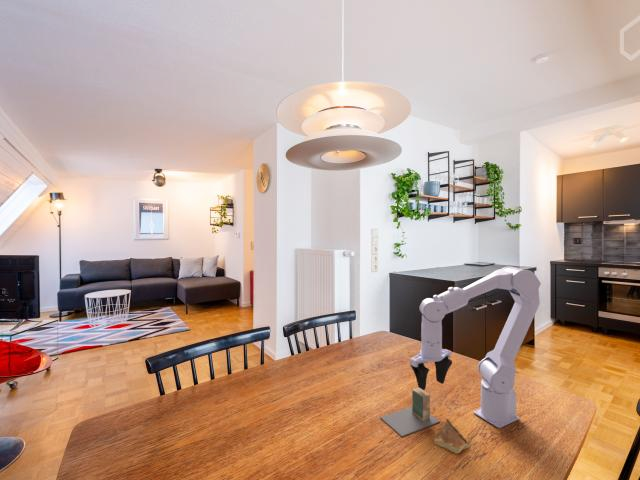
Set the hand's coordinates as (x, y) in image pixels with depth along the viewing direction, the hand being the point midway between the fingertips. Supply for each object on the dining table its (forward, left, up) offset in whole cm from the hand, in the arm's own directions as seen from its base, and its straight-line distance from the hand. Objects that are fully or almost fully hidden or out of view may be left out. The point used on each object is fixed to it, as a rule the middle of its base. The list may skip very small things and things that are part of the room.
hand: (431, 385), depth 90 cm
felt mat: (+8, 0, -8) cm, 12 cm away
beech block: (+4, 0, -8) cm, 9 cm away
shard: (+5, +10, -9) cm, 14 cm away
